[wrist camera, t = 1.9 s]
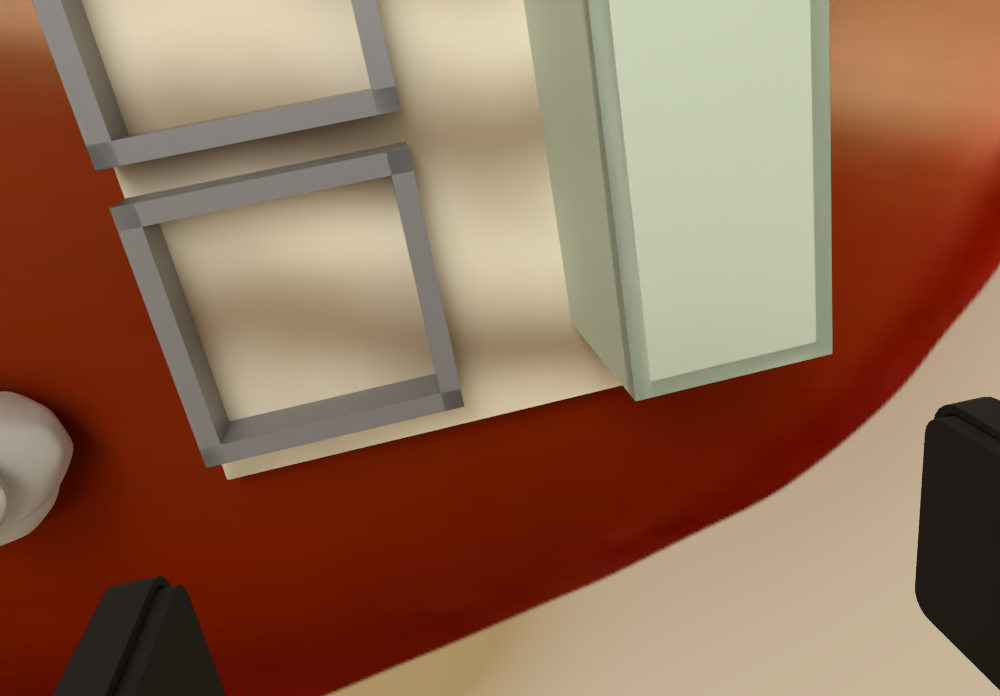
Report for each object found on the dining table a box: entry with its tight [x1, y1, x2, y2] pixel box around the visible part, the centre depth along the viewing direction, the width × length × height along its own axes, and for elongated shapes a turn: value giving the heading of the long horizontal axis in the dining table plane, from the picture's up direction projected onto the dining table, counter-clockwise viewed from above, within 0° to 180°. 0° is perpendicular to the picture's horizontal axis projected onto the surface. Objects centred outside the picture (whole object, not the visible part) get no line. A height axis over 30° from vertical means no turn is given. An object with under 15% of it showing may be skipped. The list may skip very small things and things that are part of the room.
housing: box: [524, 0, 832, 401], centre depth 22 cm, size 16×6×7 cm, turn 10°
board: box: [81, 0, 622, 480], centre depth 25 cm, size 22×20×1 cm
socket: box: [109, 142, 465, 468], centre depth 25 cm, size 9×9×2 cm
